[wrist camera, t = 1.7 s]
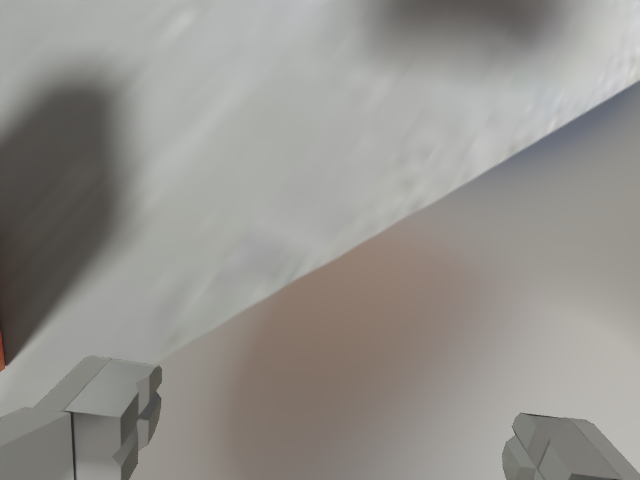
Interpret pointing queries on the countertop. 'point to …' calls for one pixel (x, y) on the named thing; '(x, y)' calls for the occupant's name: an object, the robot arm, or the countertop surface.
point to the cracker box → (1, 354)
